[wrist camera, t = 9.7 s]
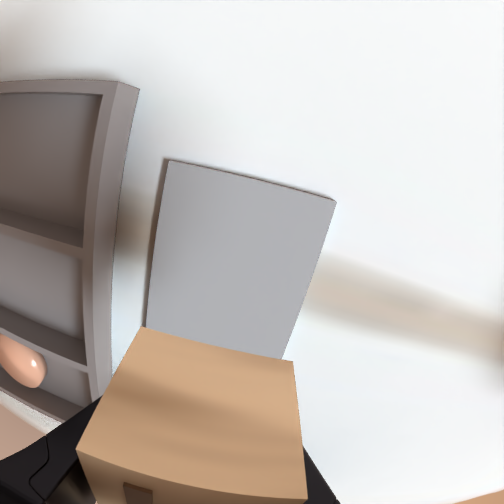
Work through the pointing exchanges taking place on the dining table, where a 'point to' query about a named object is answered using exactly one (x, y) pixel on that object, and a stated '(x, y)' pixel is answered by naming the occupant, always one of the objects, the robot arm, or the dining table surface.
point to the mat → (233, 258)
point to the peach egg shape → (22, 362)
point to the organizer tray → (61, 231)
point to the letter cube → (195, 427)
